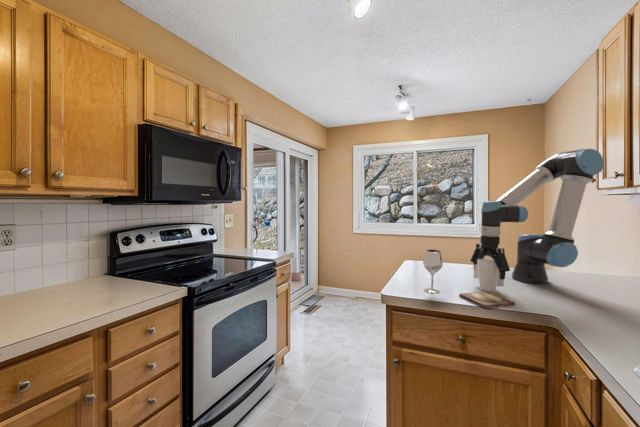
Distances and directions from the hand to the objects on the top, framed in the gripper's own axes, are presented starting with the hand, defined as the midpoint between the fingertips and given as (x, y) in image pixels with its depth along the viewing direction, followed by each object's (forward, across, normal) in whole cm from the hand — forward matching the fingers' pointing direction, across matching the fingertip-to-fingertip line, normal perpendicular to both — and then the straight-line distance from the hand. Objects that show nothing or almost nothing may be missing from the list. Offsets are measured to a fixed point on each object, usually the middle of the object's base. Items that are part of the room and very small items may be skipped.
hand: (488, 281), depth 143 cm
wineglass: (+3, -3, -27) cm, 27 cm away
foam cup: (+3, 0, 0) cm, 3 cm away
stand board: (+3, +13, -13) cm, 19 cm away
